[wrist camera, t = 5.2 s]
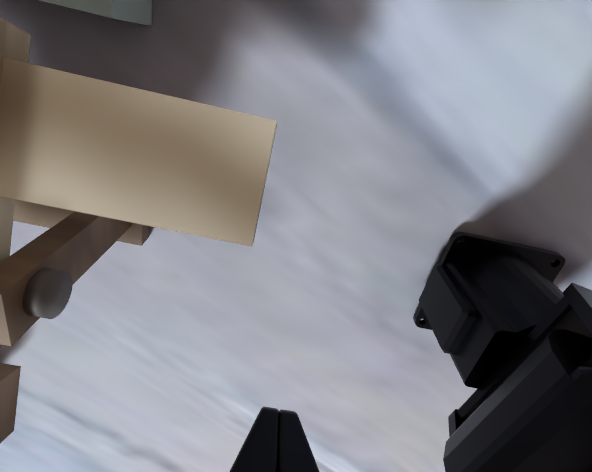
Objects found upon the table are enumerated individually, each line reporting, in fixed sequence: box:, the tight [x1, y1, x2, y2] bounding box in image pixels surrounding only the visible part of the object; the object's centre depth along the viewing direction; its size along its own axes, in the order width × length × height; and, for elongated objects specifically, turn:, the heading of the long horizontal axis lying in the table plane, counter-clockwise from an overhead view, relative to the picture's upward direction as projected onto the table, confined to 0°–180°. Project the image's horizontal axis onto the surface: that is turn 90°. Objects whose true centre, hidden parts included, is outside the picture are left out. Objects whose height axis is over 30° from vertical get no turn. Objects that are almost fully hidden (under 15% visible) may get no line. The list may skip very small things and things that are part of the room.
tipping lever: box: [0, 17, 277, 443], centre depth 12 cm, size 16×15×5 cm
